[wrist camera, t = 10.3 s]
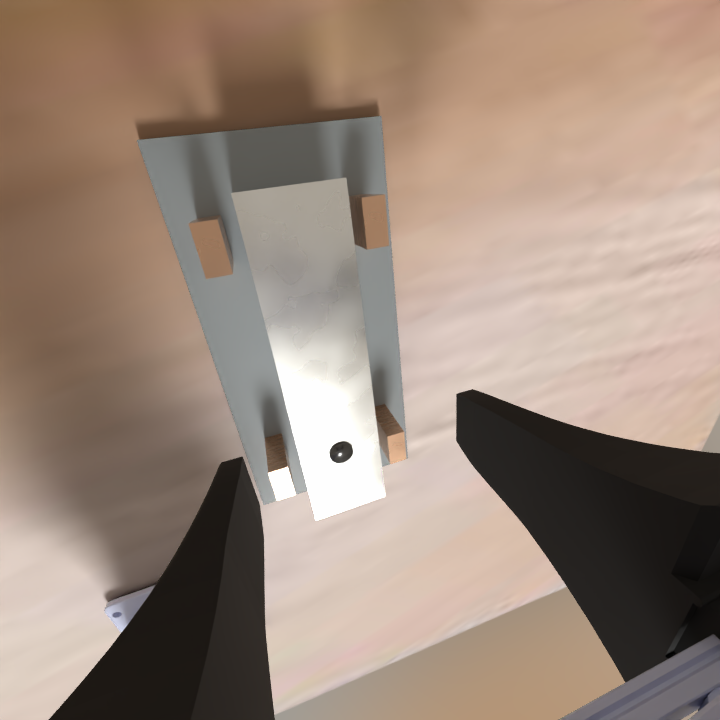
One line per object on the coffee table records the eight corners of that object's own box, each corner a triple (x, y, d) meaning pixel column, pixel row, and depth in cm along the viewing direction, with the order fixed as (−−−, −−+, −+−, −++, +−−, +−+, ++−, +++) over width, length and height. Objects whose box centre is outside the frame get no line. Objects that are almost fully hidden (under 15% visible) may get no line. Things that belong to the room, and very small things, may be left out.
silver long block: (232, 193, 15) (230, 193, 12) (323, 180, 16) (347, 177, 13) (304, 470, 22) (316, 522, 19) (363, 451, 23) (386, 498, 20)
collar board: (404, 453, 25) (427, 489, 22) (263, 499, 23) (267, 545, 20) (377, 118, 16) (409, 100, 13) (139, 141, 14) (112, 127, 11)
